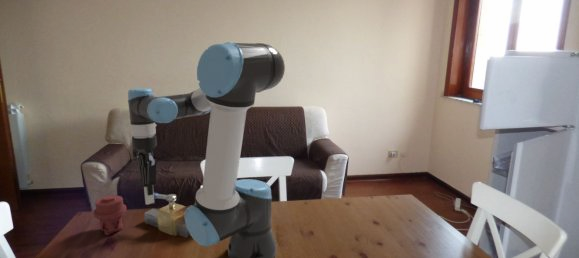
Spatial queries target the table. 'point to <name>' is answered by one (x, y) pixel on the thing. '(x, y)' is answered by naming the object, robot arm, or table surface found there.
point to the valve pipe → (168, 219)
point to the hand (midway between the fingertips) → (150, 203)
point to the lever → (165, 197)
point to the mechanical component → (110, 213)
